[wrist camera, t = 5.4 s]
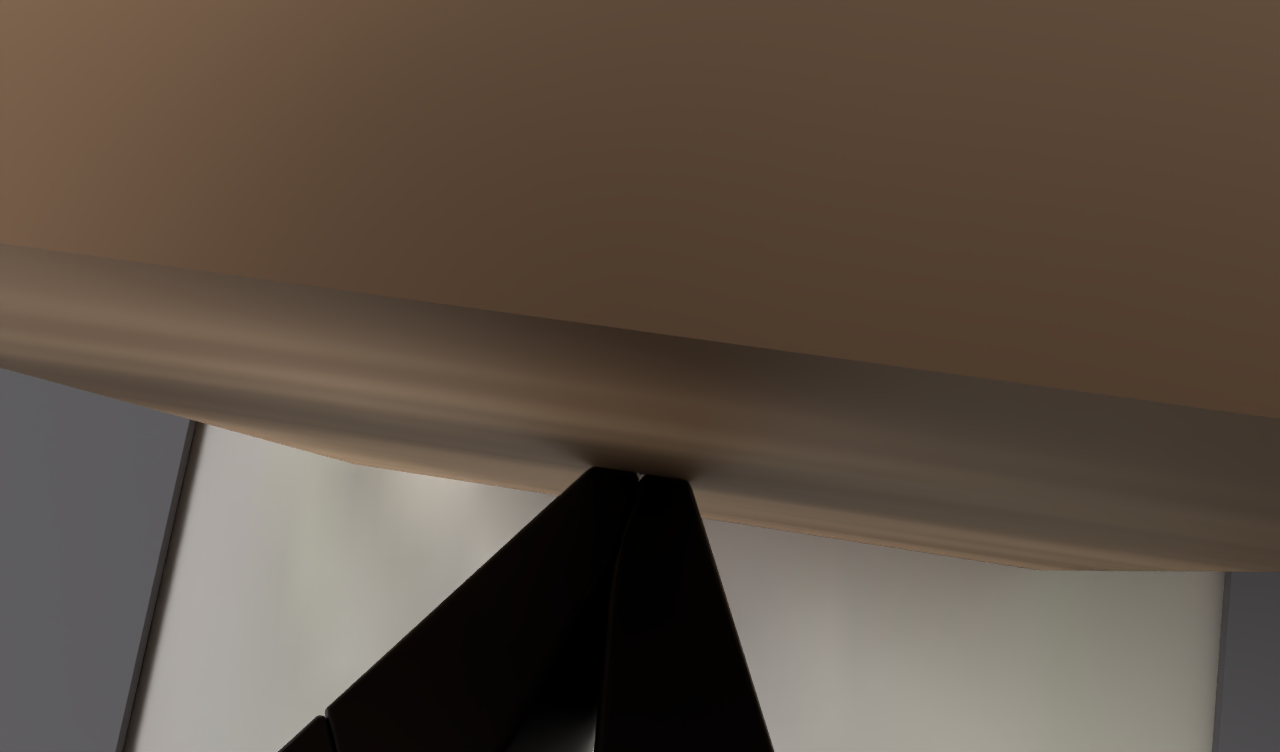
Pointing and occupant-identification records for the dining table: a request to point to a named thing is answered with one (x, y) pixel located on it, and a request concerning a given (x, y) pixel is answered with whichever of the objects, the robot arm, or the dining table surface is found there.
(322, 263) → the walnut block
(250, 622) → the dining table surface
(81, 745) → the mats
